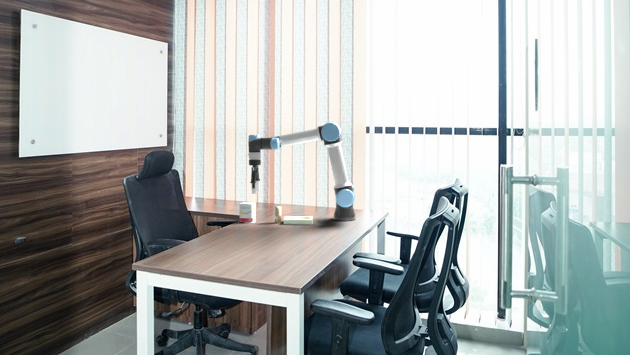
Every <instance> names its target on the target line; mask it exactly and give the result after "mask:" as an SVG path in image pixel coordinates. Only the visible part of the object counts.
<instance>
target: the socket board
mask: <svg viewBox="0 0 630 355" xmlns="http://www.w3.org/2000/svg"><path fill="white" fill-rule="evenodd" d="M313 217H314V216H311V215H309V216H305V215H304V216H301V215H300V216H294V215H293V216H291V215H289V216H288V215H287V216H284V217H283V225H295V226H296V225H303V226H304V225H307V226H308V225H309V226H310V225H311V226H312V225H313V221H314V218H313Z"/></svg>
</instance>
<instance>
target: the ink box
mask: <svg viewBox="0 0 630 355" xmlns="http://www.w3.org/2000/svg"><path fill="white" fill-rule="evenodd" d="M256 204H257V203H256V202H250V201H249V202H248V201H246V202H245V201H244V202H240V203H239V221H240V222H253V221H255V220H256V221H257V219H256ZM256 221H255V222H256Z"/></svg>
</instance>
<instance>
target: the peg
mask: <svg viewBox="0 0 630 355" xmlns="http://www.w3.org/2000/svg"><path fill="white" fill-rule="evenodd" d="M281 223H282V206H274V224H281Z"/></svg>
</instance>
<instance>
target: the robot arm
mask: <svg viewBox="0 0 630 355" xmlns="http://www.w3.org/2000/svg"><path fill="white" fill-rule="evenodd" d="M342 137H343V136H342V133H341V127H340V126H339V124H337V123H336V122H333V121H329V122H326V123H325V124H324V125H323V124H322V125H319V126H317V127H316V128H313V129H307V130H303V131H297V132H293V133H288V134H283V135H277V136H272V137H261V134H249V135H248V141H247V142H248V154H247V156H248V165H249V166H252V167H251V173H250V174H251V175H250V178H251V179H250V182H249V183H250V184H251V194H255V195H256V194H257V192H260V182H261V179H260V172H259V171H260V170H259V166H261V165H262V161H261V158H262V155H261V154H262V152H261V150H266V151H267V150H269V151H270V150H271V151H272V150H273V151H274V150H279V149H280V148H285V147H289V146H294V145H299V144H305V143H309V142H310V143H311V142H315V141H320V142H323V145H324V147H326V149H327V152H328V156H329V157H328V158H329V161H330V166H331V171H332V175H333V180H334V184H335V185H334V186H333V191H334V194H335V208H334V211H333V215H332V219H333V220H335V221H339V222H340V221H343V222H345V221H347V222H348V221H350V220H351V221H355V220H356V219H357V215H356V211H355V209H354V202H355V200H356V199H355V194H354V193H355V192H354V189H355V187H354V185H353V184H352V182H350V181H349V178H348V172H347V166H346V163H345V158H344V153H343V149H342V143H343V138H342ZM351 221H350V222H351Z"/></svg>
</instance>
